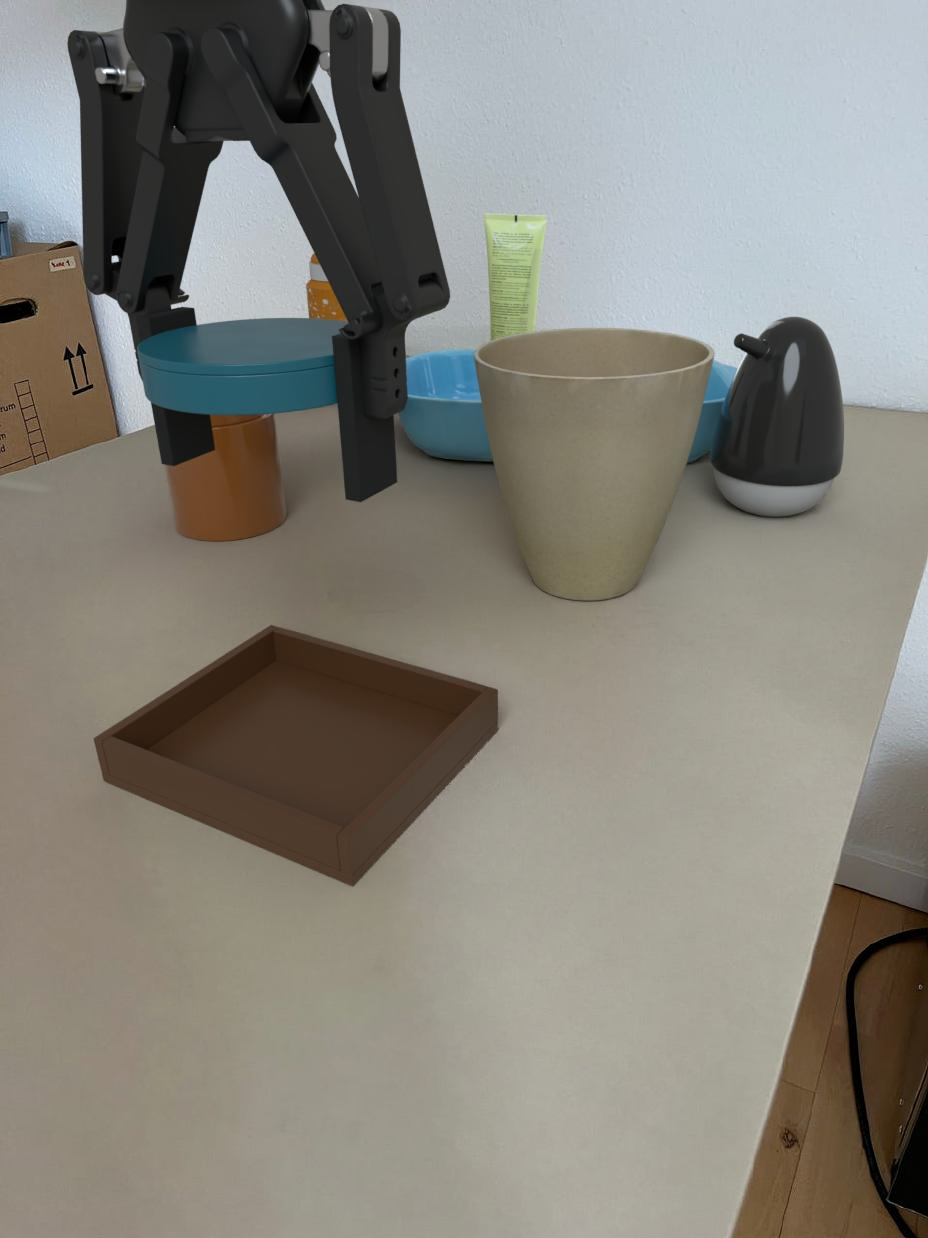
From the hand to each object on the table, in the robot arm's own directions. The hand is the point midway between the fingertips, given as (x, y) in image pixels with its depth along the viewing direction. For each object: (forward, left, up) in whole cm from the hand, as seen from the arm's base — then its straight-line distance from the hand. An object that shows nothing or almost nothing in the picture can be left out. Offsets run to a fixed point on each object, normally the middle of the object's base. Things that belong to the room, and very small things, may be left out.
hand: (275, 472), depth 41 cm
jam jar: (-26, +23, -15) cm, 38 cm away
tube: (-25, +72, -15) cm, 77 cm away
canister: (-40, +61, -15) cm, 74 cm away
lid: (0, 0, +5) cm, 5 cm away
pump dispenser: (+12, +46, -15) cm, 50 cm away
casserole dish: (-11, +55, -15) cm, 58 cm away
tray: (0, 0, -15) cm, 15 cm away
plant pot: (+4, +26, -15) cm, 30 cm away
